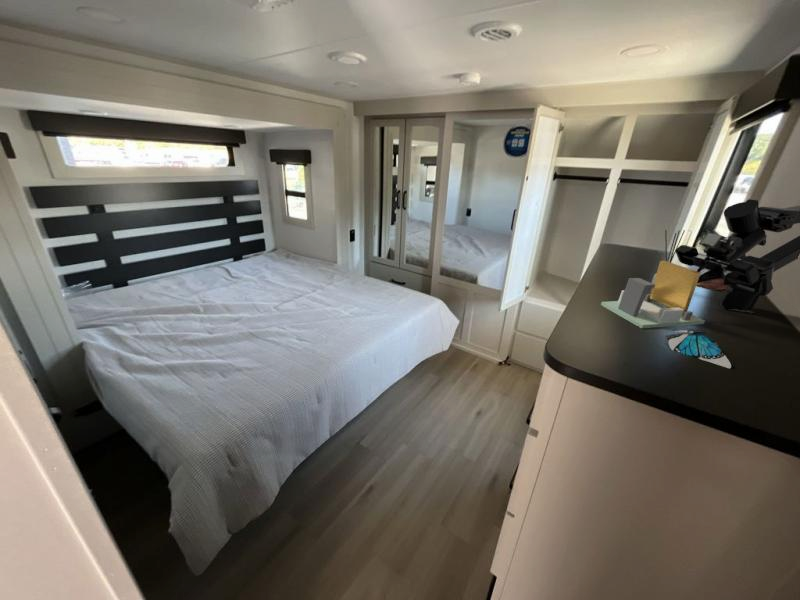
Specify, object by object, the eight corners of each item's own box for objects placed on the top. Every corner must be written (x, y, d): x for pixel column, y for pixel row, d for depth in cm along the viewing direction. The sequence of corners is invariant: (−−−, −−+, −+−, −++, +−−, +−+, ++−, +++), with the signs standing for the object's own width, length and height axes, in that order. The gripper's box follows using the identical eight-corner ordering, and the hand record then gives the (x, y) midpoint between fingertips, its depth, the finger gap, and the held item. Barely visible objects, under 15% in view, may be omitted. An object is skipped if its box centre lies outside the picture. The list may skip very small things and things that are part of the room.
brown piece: (694, 288, 110) (703, 268, 107) (678, 277, 120) (686, 259, 117) (735, 293, 107) (746, 273, 104) (714, 281, 118) (724, 263, 114)
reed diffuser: (661, 293, 104) (687, 233, 96) (638, 286, 109) (660, 228, 101) (672, 287, 110) (697, 230, 101) (650, 280, 115) (672, 225, 106)
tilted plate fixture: (656, 301, 97) (669, 270, 93) (703, 323, 85) (720, 289, 81) (600, 304, 94) (611, 272, 89) (641, 328, 81) (656, 292, 77)
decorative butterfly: (663, 321, 78) (719, 322, 73) (662, 344, 80) (716, 347, 74) (672, 339, 70) (735, 342, 64) (670, 364, 72) (731, 370, 66)
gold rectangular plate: (652, 300, 94) (664, 260, 89) (685, 315, 85) (701, 272, 80) (648, 301, 94) (659, 261, 88) (681, 316, 85) (696, 273, 80)
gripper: (694, 216, 90) (647, 254, 92) (776, 231, 73) (716, 277, 76) (703, 243, 94) (659, 279, 97) (782, 263, 78) (726, 305, 80)
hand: (686, 284), depth 87 cm, fingers closed
